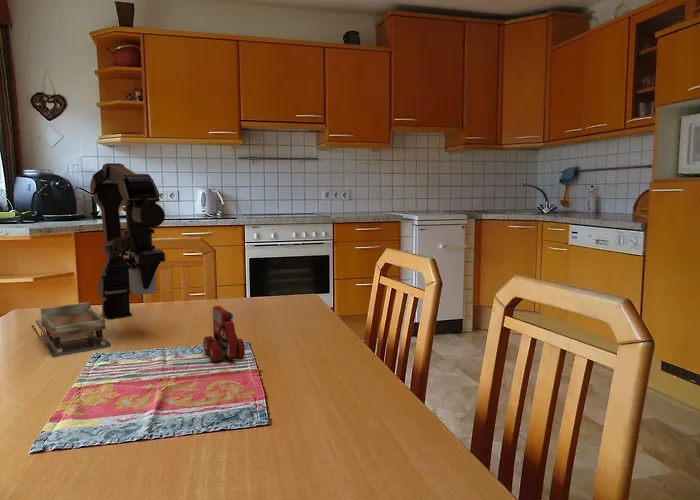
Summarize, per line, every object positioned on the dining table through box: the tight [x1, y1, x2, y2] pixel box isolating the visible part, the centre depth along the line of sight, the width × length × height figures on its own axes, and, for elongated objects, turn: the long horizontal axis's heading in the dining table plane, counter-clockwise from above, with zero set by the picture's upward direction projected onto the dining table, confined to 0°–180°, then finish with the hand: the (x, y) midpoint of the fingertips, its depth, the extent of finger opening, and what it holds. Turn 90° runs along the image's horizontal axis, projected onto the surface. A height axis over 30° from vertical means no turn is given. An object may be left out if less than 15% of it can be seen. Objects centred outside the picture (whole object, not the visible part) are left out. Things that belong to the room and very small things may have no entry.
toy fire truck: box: [203, 305, 246, 363], centre depth 116 cm, size 7×12×10 cm, turn 29°
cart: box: [40, 301, 107, 345], centre depth 127 cm, size 11×16×6 cm
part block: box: [129, 268, 157, 296], centre depth 133 cm, size 5×5×6 cm
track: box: [35, 319, 112, 357], centre depth 133 cm, size 12×34×1 cm, turn 38°
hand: (142, 287), depth 133 cm, fingers closed on part block, 5 cm apart
